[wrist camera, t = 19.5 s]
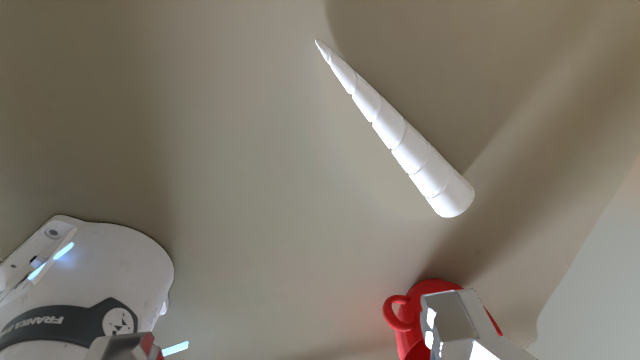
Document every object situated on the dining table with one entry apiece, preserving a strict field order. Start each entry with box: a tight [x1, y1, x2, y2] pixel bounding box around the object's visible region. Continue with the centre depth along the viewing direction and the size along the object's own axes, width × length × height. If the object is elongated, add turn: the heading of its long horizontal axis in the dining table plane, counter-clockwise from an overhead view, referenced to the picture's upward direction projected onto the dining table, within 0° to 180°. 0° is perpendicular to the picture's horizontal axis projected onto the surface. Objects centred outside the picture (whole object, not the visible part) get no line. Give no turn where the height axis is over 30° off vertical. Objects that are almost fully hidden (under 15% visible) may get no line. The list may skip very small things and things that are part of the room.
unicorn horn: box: [315, 39, 475, 217], centre depth 38 cm, size 5×24×5 cm, turn 38°
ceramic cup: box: [383, 279, 503, 360], centre depth 51 cm, size 13×17×10 cm
